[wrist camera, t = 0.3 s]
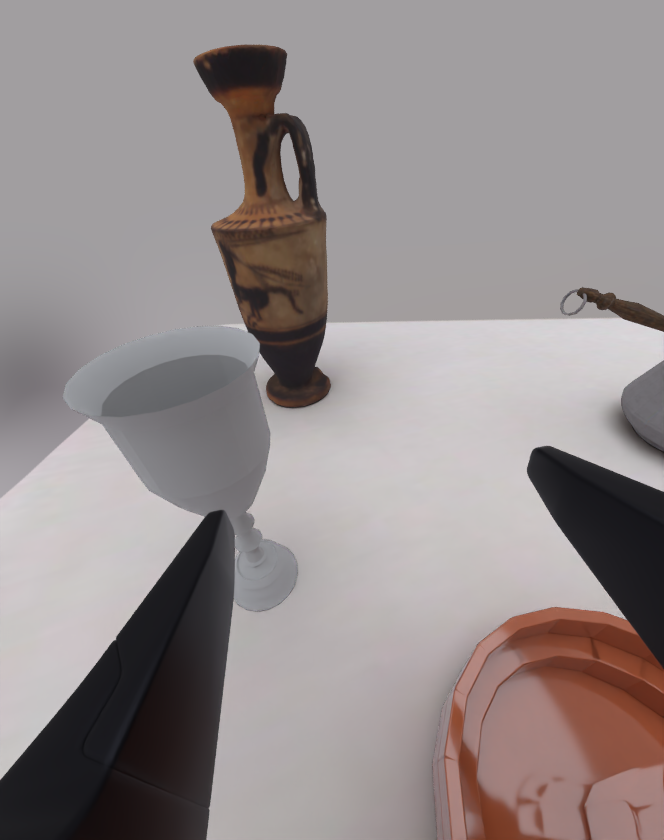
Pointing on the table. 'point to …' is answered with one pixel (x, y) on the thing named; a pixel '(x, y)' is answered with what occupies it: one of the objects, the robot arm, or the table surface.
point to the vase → (272, 224)
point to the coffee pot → (651, 392)
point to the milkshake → (628, 804)
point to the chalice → (194, 435)
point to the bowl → (544, 725)
